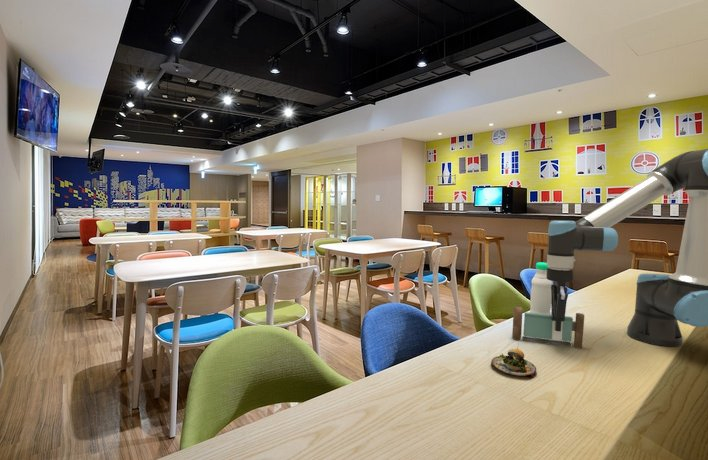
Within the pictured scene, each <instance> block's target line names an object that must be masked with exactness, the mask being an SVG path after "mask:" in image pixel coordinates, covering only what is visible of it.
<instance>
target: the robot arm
mask: <svg viewBox="0 0 708 460" xmlns="http://www.w3.org/2000/svg"><path fill="white" fill-rule="evenodd" d="M681 190H684V192H685V194H686V195H687V196H689V201H688V203H687V204H688V206H687V210H686V215H685V219H684V220H685V221H684V226H683V231H682V238H681V242H680V248H679V251H678V259H677V264H676V268H675V272H674V273H672V274H668V273H667V274H666V273H665V274H664V273H640V274H638V277H637V280H636V293H635V304H634V305H635V307H634V314H633V316H632V318H631V319H630V320H629V321H630V322H629V324H628V325H627V329H626V334H627V335H628V336H629V337H630V338H632V339H635V340H637V341H640V342H643V343H646V344H650V345H651V344H652V345H657V346H663V347H680V346H682V345H683V340H684V338H683V334H682V331H681V328H680V325H679V323H682V324H685V325H688V326H692V327H696V328H697V327H698V328H703V327H708V148H704V149H699V150H690V151H687V152H682V153H680V154H678V155H676V156H674V157H673V158H671V159H669V160H667V161H666V162H663V164H661V165H660V166H658V167H655V168H654V169H652V170H651V171H649V172H648V173H647V175H646V178H645V179H643V180H641V181H640V182H638V183H636V184H635V185H633V186H632V187H630V188H628V189H626V190H625V191H623V192H622V193H620V194H619V195H617V196H615V197H614V198H612V199H610V200H609V201H608V202H606V203H604V204H603V205H601V206H599V207H597V208H596V209H595V210H593V211H591V212H590V213H588V214H586V215H584V216H583V217H581V218H579V219H577V220H576V221H574V220H551V221H550V222H549V224H548V230H547V231H548V232H547V254H546V263H547V266H548V267H549V268H547V276H546V278H547V279H548V280H551V281H552V282H553V285H551V310H550V312H551V315H553V316H552V318H551V320H552V321H553V323H552V340H557V341H562V326H563V321H565V316H566V311H567V301H568V297H569V295H568V287H567V286H566V283H571V282H573V281H574V270H573V268H574V263H575V262H576V258H575V251H588V252H589V251H590V252H591V251H593V252H611V251H614V250H616V248H617V246H618V244H619V235H618V232H617V230H616V229H615V228H613V226H615V225H616V224H618V223H620V222H621V221H623V220H624V219H626V218H628V217H630V216H631V215H632V214H635V213H636V212H637V211H640V210H642V209H643V208H644V207H646V206H647V205H649V204H651V203H652V202H655V201H656V200H658V199H659V198H661V197H663V196H670V195H673V194H674V193H676V192H677V191H681ZM678 321H679V322H678Z"/></svg>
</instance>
